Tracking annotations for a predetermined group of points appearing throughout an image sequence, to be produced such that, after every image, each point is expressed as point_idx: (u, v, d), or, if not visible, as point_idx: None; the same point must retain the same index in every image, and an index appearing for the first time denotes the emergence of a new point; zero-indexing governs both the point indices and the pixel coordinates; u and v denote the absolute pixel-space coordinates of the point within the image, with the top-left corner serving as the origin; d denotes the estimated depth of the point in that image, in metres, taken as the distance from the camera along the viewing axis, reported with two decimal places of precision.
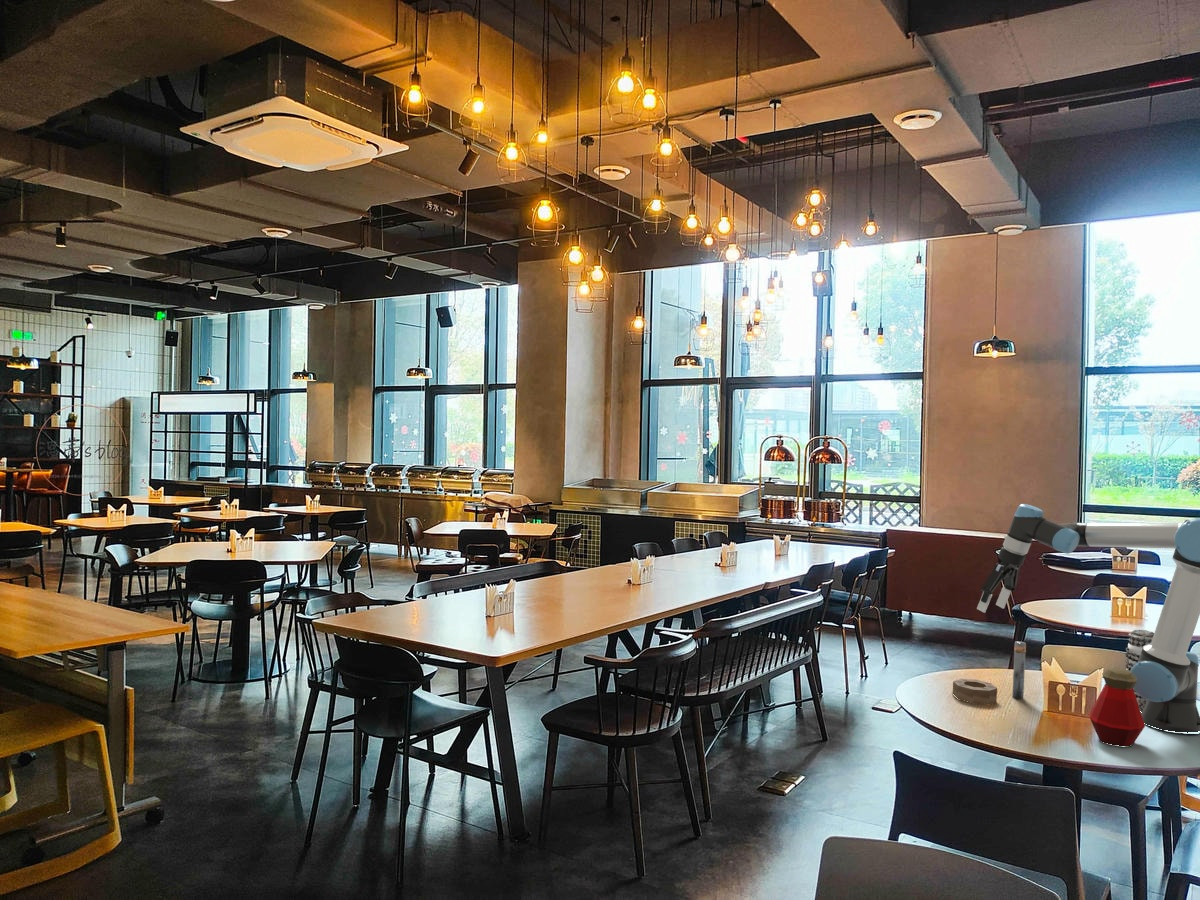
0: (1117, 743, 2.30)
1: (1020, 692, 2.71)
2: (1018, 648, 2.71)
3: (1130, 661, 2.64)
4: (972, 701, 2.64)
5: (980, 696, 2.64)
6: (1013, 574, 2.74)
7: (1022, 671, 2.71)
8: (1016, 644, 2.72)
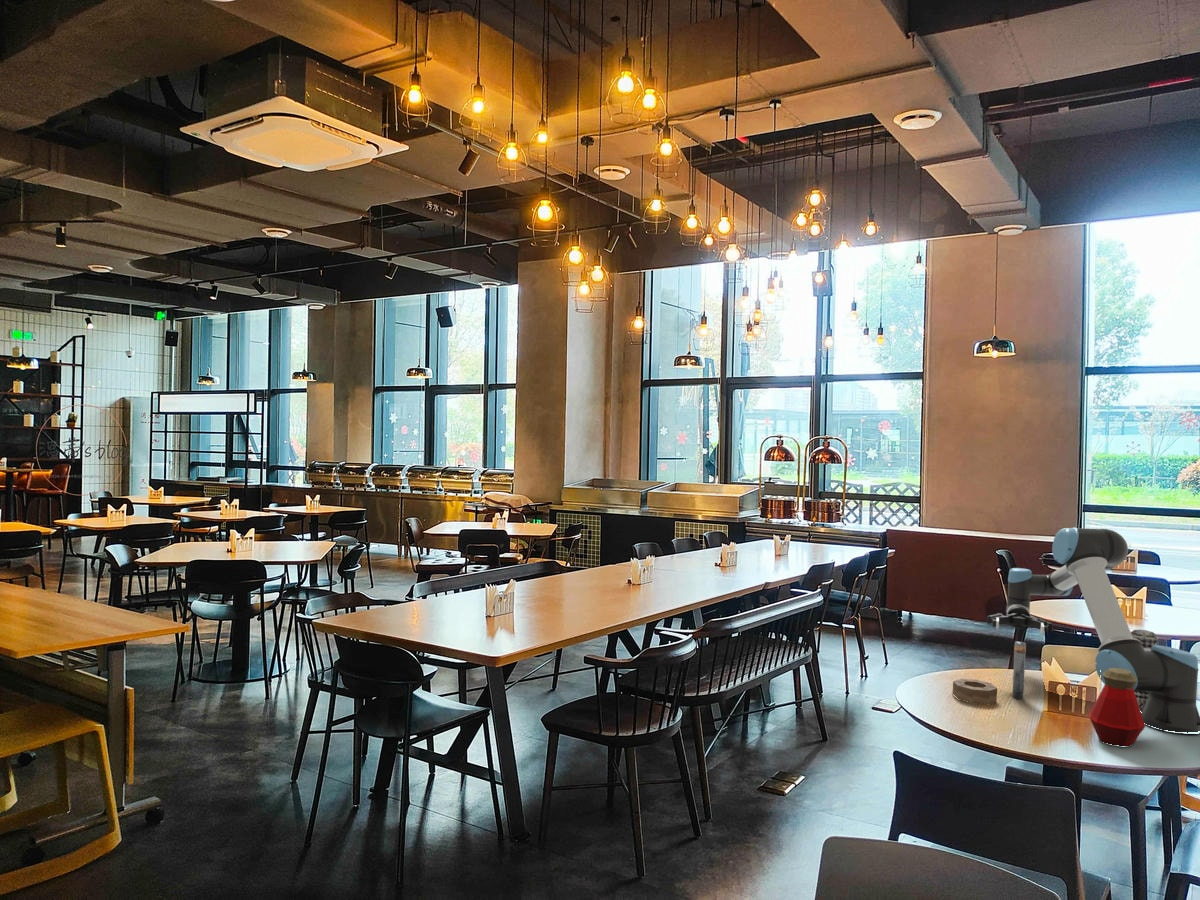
0: (1117, 743, 2.30)
1: (1020, 692, 2.71)
2: (1018, 648, 2.71)
3: None
4: (972, 701, 2.64)
5: (980, 696, 2.64)
6: (1027, 616, 2.91)
7: (1022, 671, 2.71)
8: (1016, 644, 2.72)
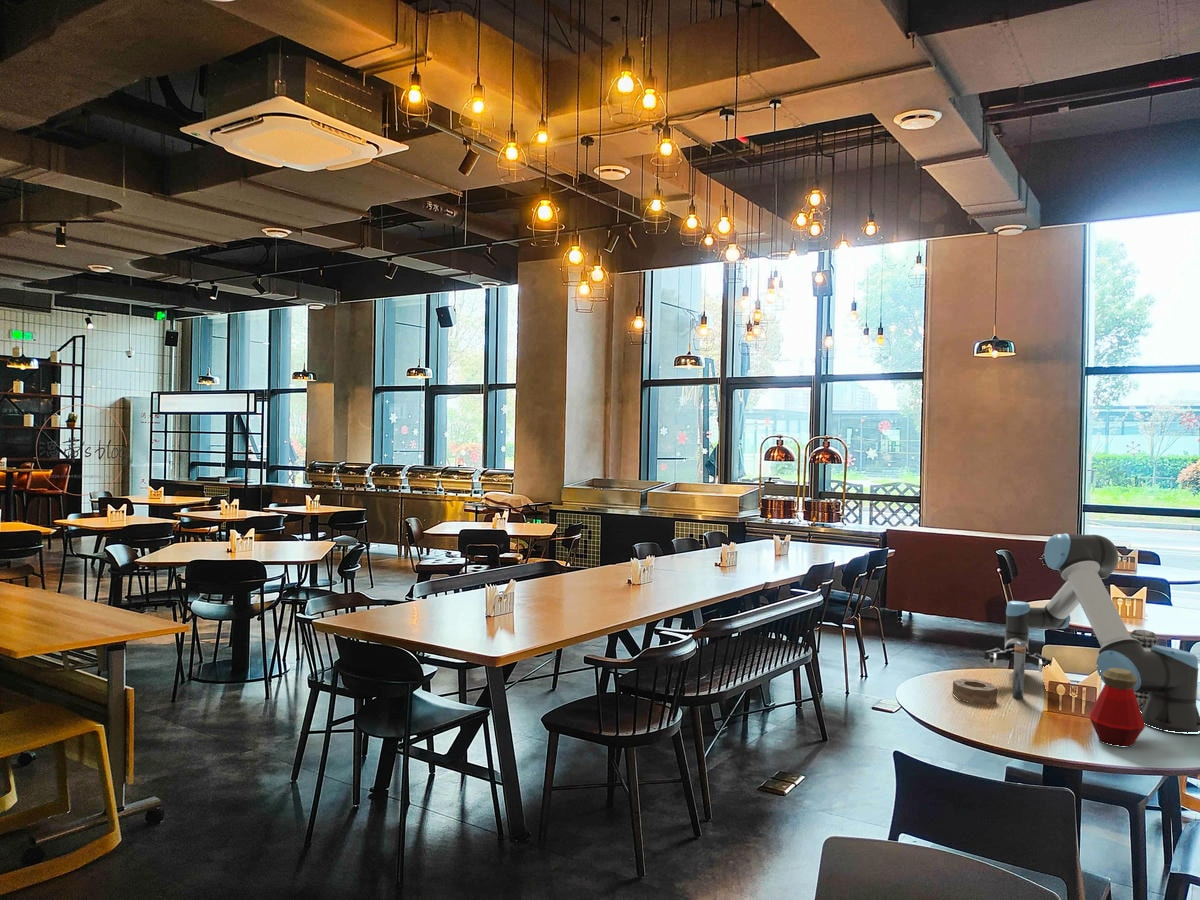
0: (1117, 743, 2.30)
1: (1020, 692, 2.71)
2: (1018, 648, 2.71)
3: None
4: (972, 701, 2.64)
5: (980, 696, 2.64)
6: None
7: (1022, 671, 2.71)
8: (1016, 644, 2.72)
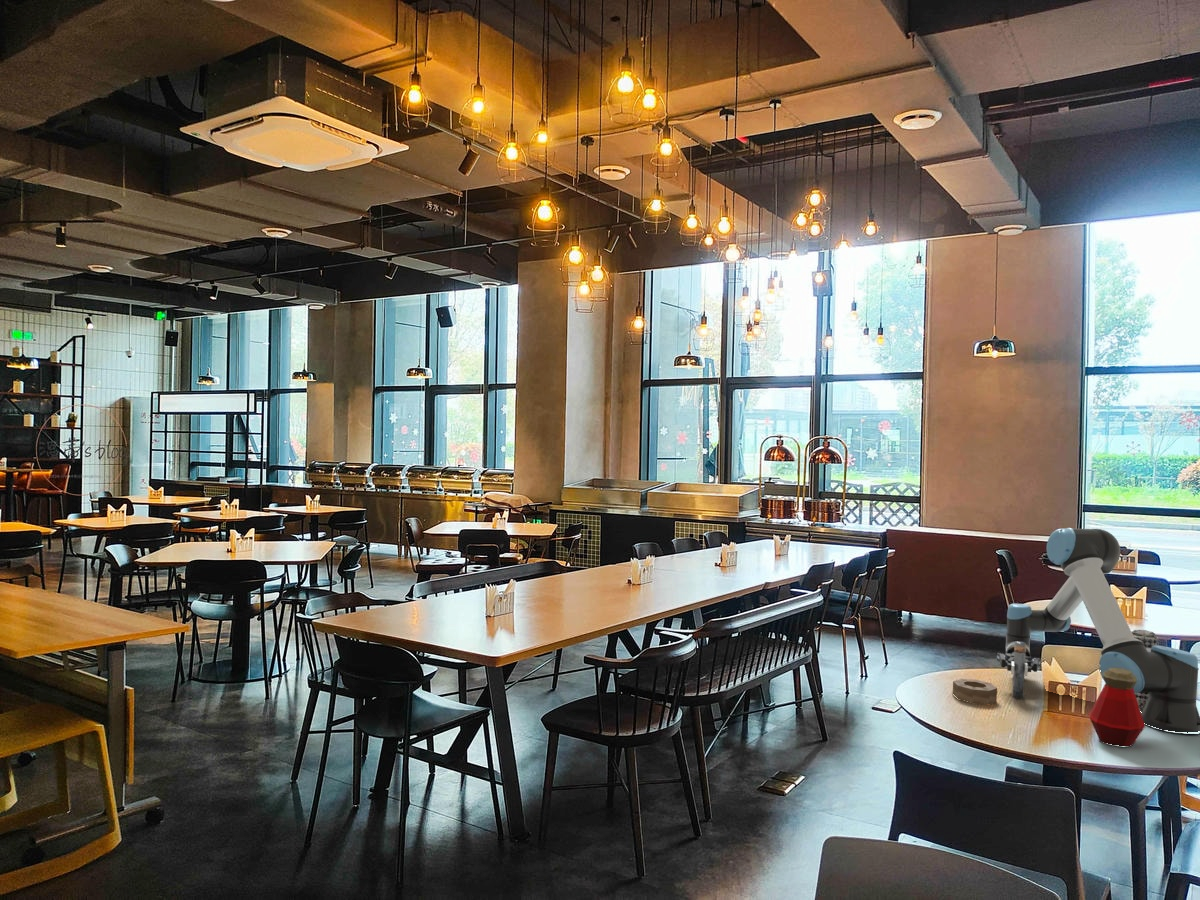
0: (1117, 743, 2.30)
1: (1020, 692, 2.71)
2: (1018, 648, 2.71)
3: None
4: (972, 701, 2.64)
5: (980, 696, 2.64)
6: None
7: (1022, 671, 2.71)
8: (1016, 644, 2.72)
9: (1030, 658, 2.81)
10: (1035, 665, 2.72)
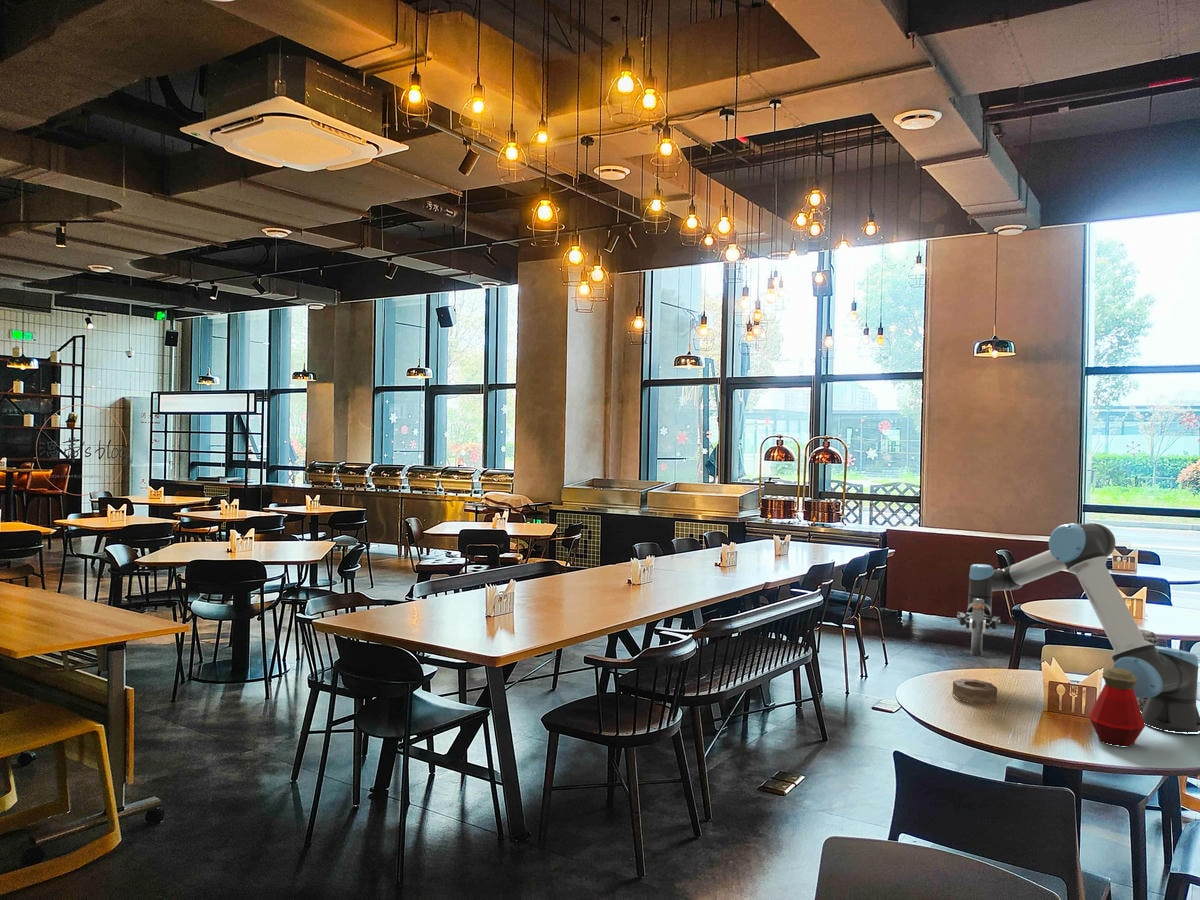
0: (1117, 743, 2.30)
1: (978, 649, 2.68)
2: (976, 604, 2.68)
3: None
4: (972, 701, 2.64)
5: (980, 696, 2.64)
6: None
7: (980, 628, 2.68)
8: (974, 601, 2.69)
9: (990, 616, 2.78)
10: (994, 622, 2.69)
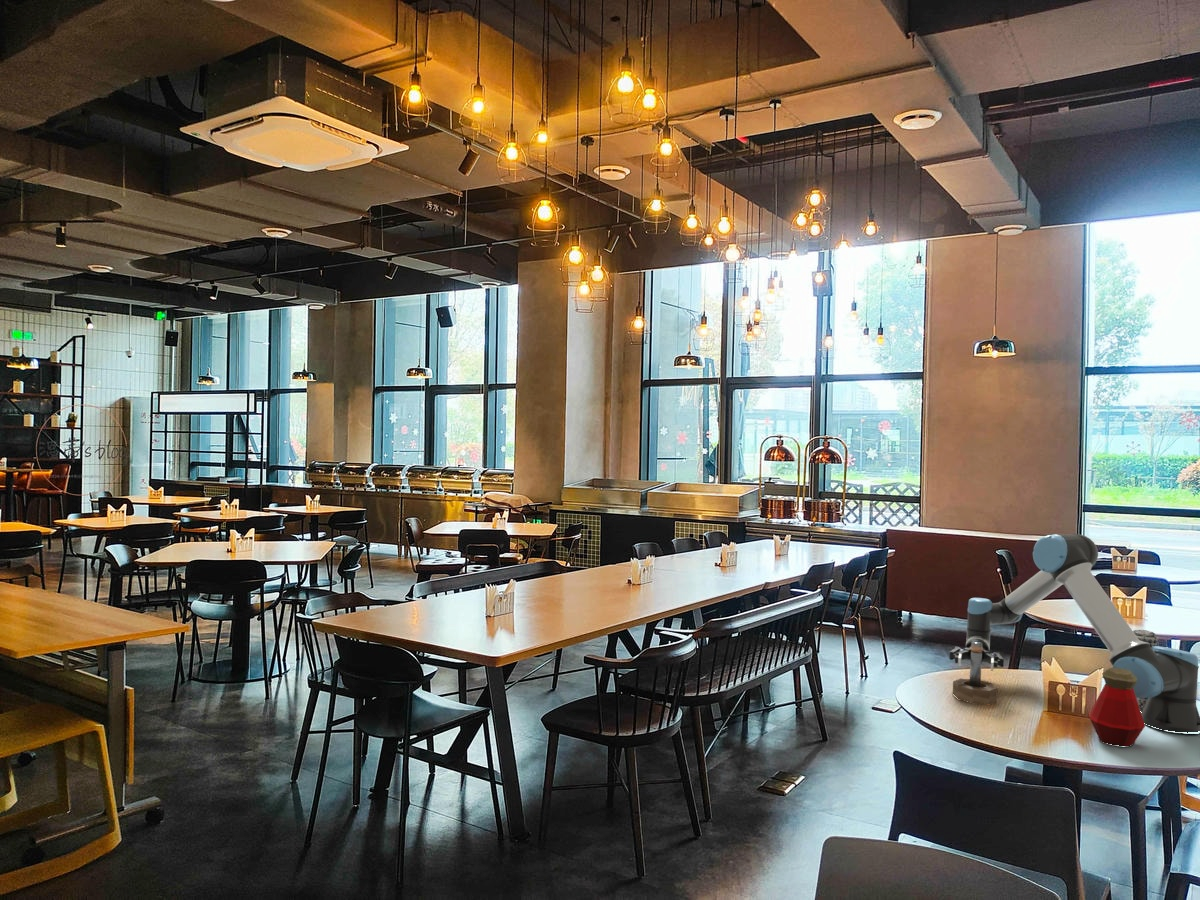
0: (1117, 743, 2.30)
1: None
2: (974, 648, 2.69)
3: None
4: (972, 701, 2.64)
5: (980, 696, 2.64)
6: (983, 650, 2.78)
7: (978, 671, 2.68)
8: (973, 644, 2.69)
9: (989, 652, 2.78)
10: (1002, 660, 2.69)
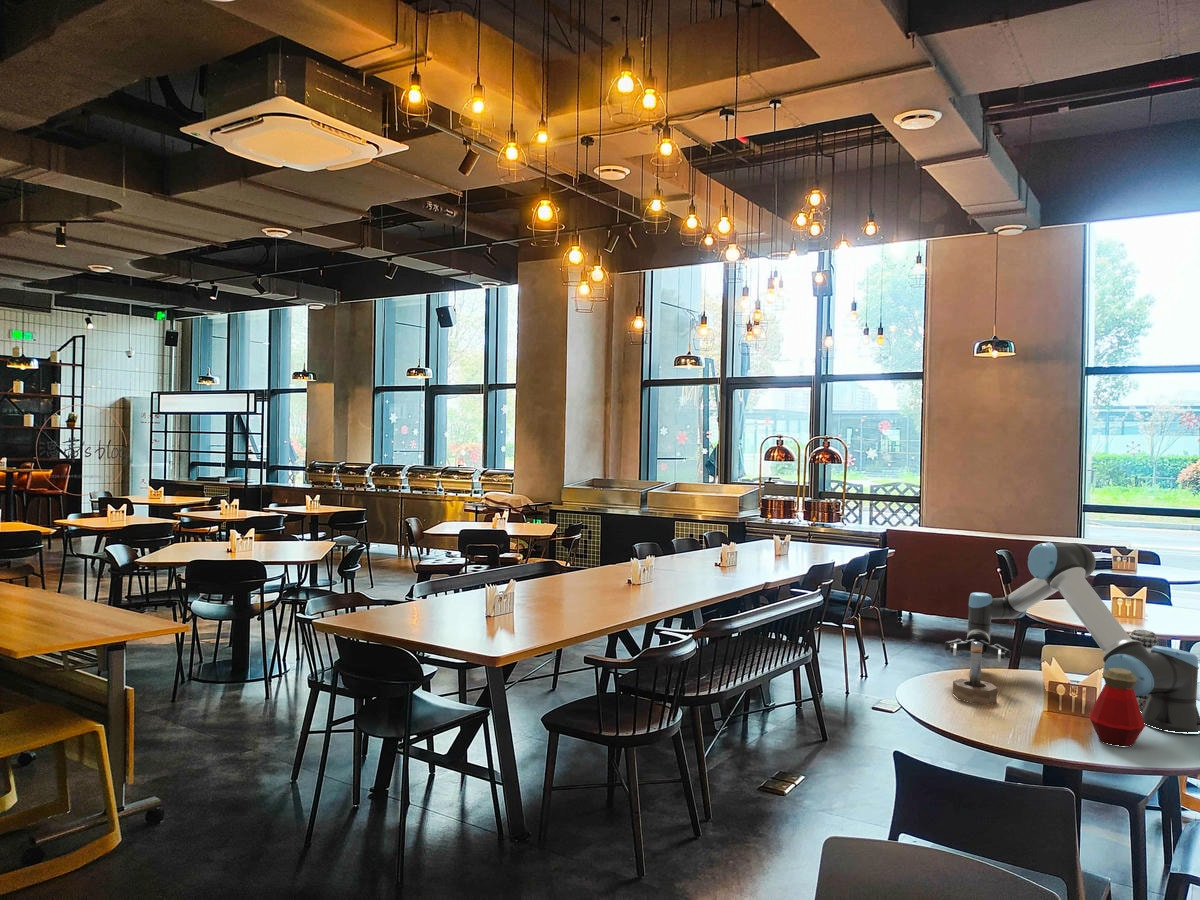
0: (1117, 743, 2.30)
1: None
2: (974, 648, 2.69)
3: None
4: (972, 701, 2.64)
5: (980, 696, 2.64)
6: (985, 642, 2.88)
7: (978, 671, 2.68)
8: (972, 644, 2.69)
9: (990, 644, 2.89)
10: (1009, 651, 2.80)
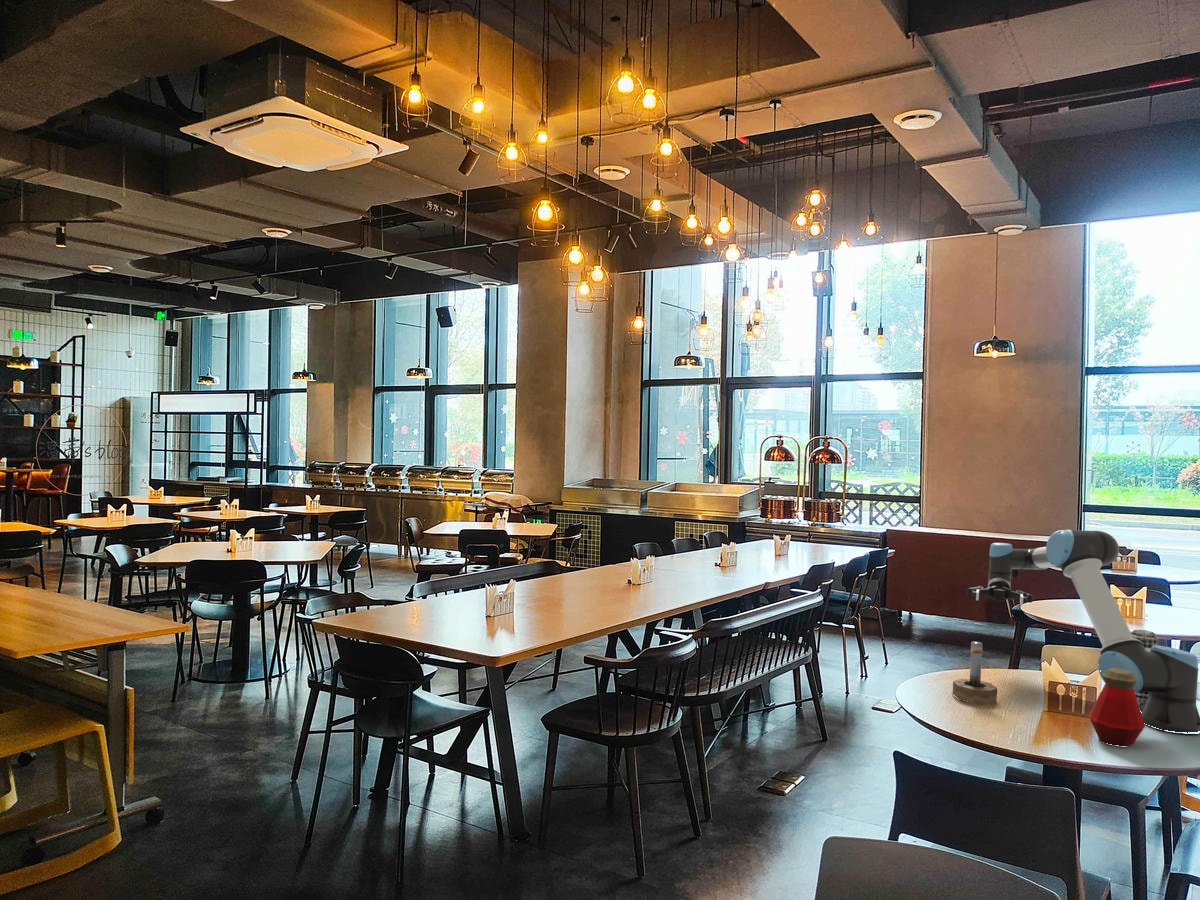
0: (1117, 743, 2.30)
1: None
2: (974, 648, 2.69)
3: None
4: (972, 701, 2.64)
5: (980, 696, 2.64)
6: (1007, 588, 2.94)
7: (978, 671, 2.68)
8: (972, 644, 2.69)
9: None
10: (1031, 596, 2.86)
